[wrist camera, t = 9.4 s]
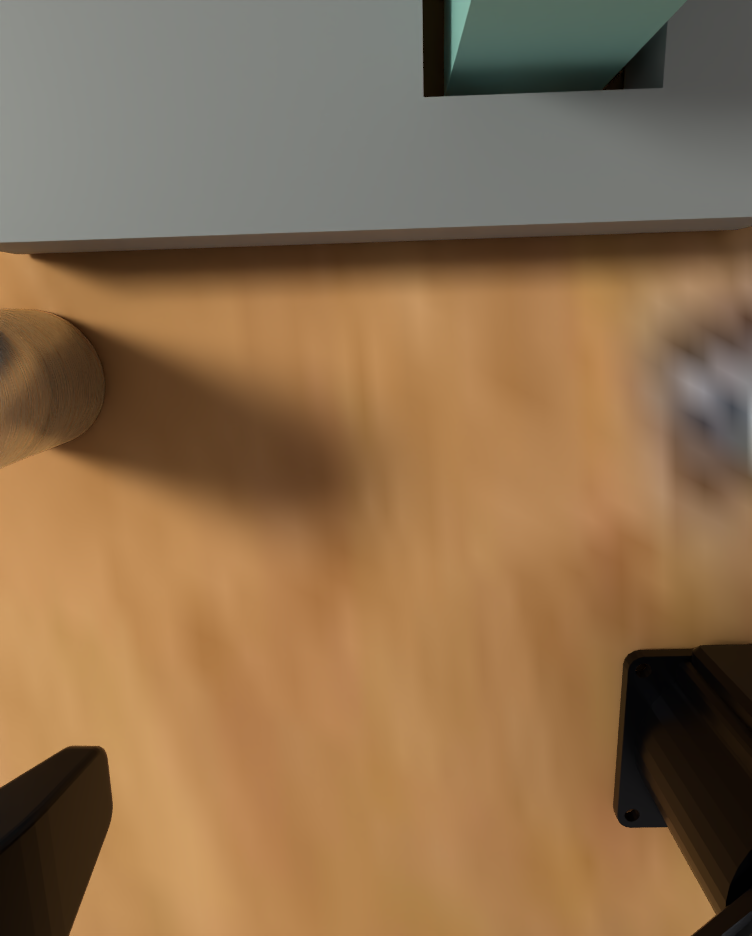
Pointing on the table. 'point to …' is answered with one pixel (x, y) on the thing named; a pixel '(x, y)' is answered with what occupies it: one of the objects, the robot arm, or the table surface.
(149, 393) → the table surface
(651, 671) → the robot arm
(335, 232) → the plate
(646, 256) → the table surface
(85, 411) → the round peg
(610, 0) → the square peg
